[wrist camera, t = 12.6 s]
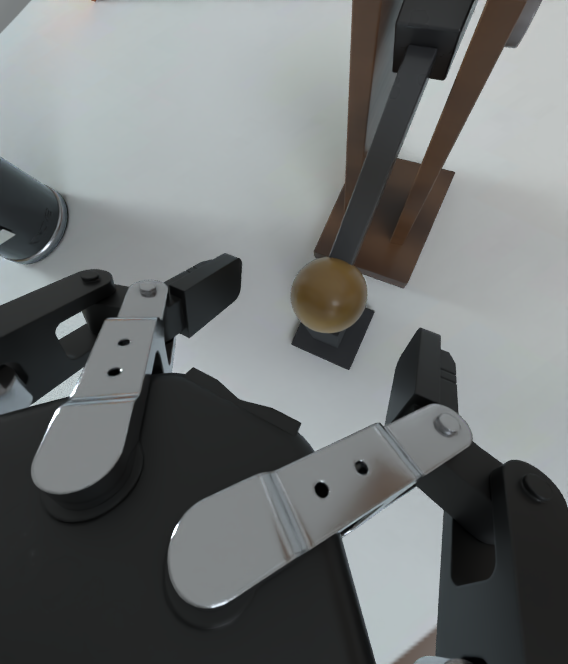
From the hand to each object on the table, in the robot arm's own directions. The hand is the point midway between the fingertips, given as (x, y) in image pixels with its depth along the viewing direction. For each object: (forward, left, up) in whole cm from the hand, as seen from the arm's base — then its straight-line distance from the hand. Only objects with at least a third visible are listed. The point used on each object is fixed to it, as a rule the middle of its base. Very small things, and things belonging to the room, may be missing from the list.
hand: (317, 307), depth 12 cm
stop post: (0, +1, -11) cm, 11 cm away
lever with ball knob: (0, +6, -1) cm, 7 cm away
